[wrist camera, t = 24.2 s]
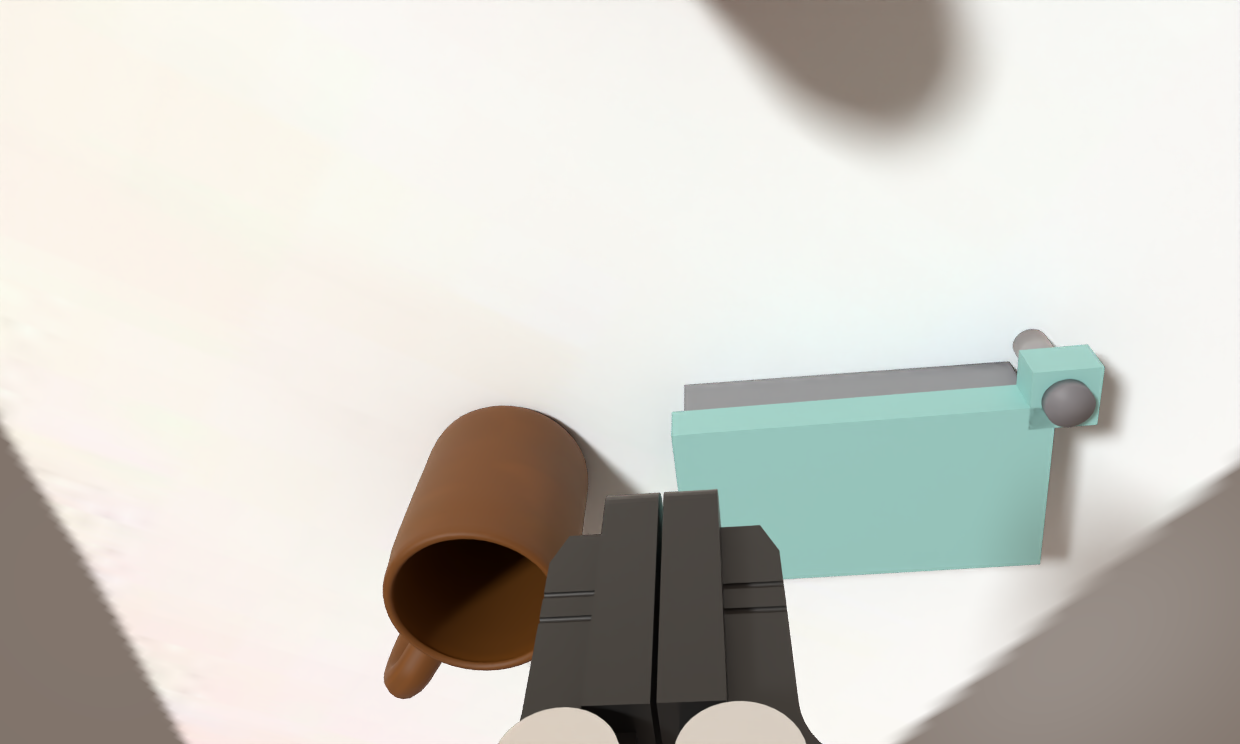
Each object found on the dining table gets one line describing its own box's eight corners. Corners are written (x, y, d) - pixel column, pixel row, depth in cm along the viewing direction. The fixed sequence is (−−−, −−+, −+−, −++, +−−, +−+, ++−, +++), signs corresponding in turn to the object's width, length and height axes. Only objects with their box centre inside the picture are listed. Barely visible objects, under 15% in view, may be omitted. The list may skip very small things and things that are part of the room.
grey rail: (1048, 327, 41) (1068, 356, 39) (1030, 489, 45) (1047, 524, 43) (681, 355, 42) (681, 384, 40) (697, 509, 47) (697, 543, 44)
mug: (496, 604, 51) (460, 756, 42) (366, 538, 49) (302, 683, 41) (621, 450, 45) (607, 590, 37) (480, 369, 43) (433, 497, 35)
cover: (1087, 344, 38) (1111, 375, 36) (1064, 534, 43) (1083, 571, 41) (667, 379, 40) (666, 410, 38) (690, 557, 45) (690, 594, 43)
